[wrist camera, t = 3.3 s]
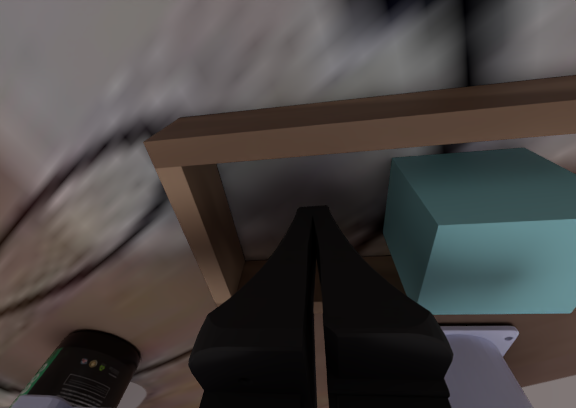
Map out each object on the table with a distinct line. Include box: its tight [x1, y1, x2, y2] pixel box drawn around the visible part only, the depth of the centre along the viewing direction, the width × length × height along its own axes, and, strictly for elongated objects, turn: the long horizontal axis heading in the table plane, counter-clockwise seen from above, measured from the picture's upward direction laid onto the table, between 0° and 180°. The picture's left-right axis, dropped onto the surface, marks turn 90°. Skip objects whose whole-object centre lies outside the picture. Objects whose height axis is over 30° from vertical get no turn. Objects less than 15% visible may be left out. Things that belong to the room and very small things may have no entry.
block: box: [383, 148, 576, 315], centre depth 10 cm, size 4×6×5 cm
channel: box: [143, 75, 576, 313], centre depth 11 cm, size 10×21×3 cm, turn 97°
